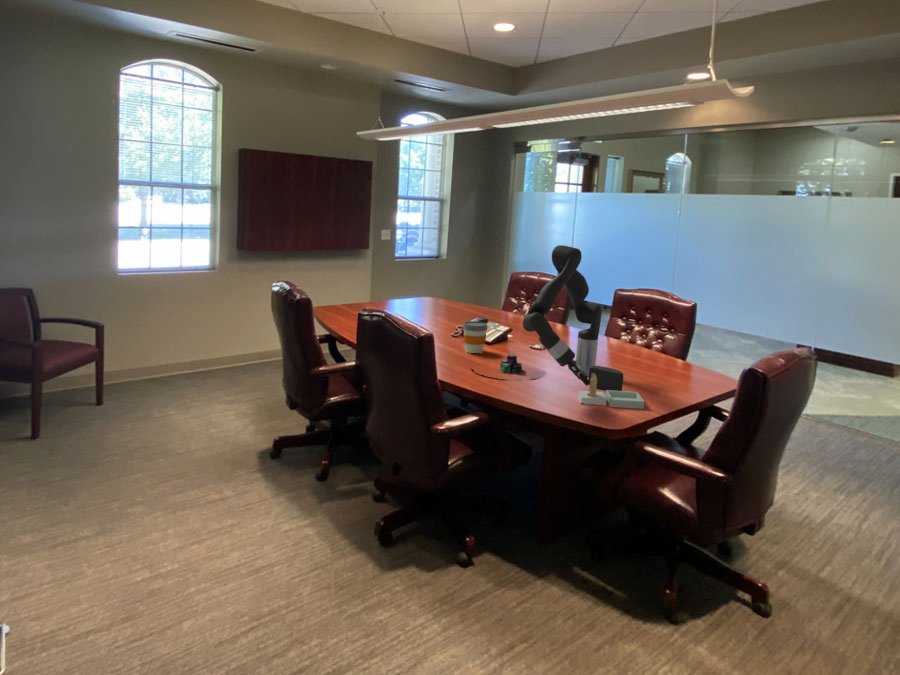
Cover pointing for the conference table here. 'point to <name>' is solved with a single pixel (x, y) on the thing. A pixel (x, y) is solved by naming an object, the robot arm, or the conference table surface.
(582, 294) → the robot arm
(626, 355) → the conference table surface
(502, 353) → the conference table surface
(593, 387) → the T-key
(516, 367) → the mineral sample
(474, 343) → the reusable coffee cup
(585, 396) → the cover plate
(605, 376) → the leaning round-cornered charcoal block
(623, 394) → the tray
